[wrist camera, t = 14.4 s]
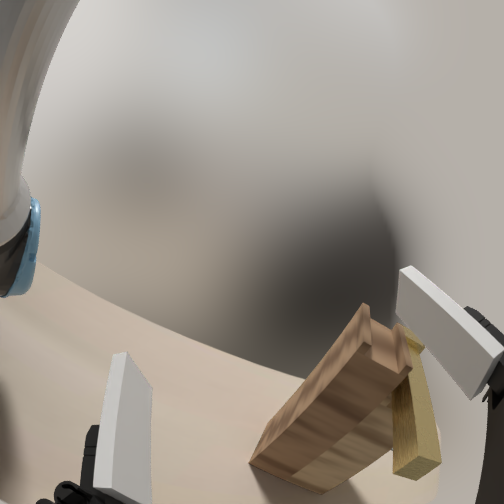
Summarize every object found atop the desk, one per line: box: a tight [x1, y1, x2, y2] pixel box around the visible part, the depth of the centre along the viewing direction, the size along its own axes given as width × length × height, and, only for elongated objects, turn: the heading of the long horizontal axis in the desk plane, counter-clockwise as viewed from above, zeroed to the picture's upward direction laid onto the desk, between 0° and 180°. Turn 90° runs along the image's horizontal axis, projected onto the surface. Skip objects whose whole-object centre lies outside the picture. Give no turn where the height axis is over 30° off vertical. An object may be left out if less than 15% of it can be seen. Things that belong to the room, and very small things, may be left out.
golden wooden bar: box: [391, 324, 442, 481], centre depth 25 cm, size 22×4×4 cm, turn 158°
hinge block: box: [249, 303, 413, 495], centre depth 31 cm, size 9×12×25 cm
